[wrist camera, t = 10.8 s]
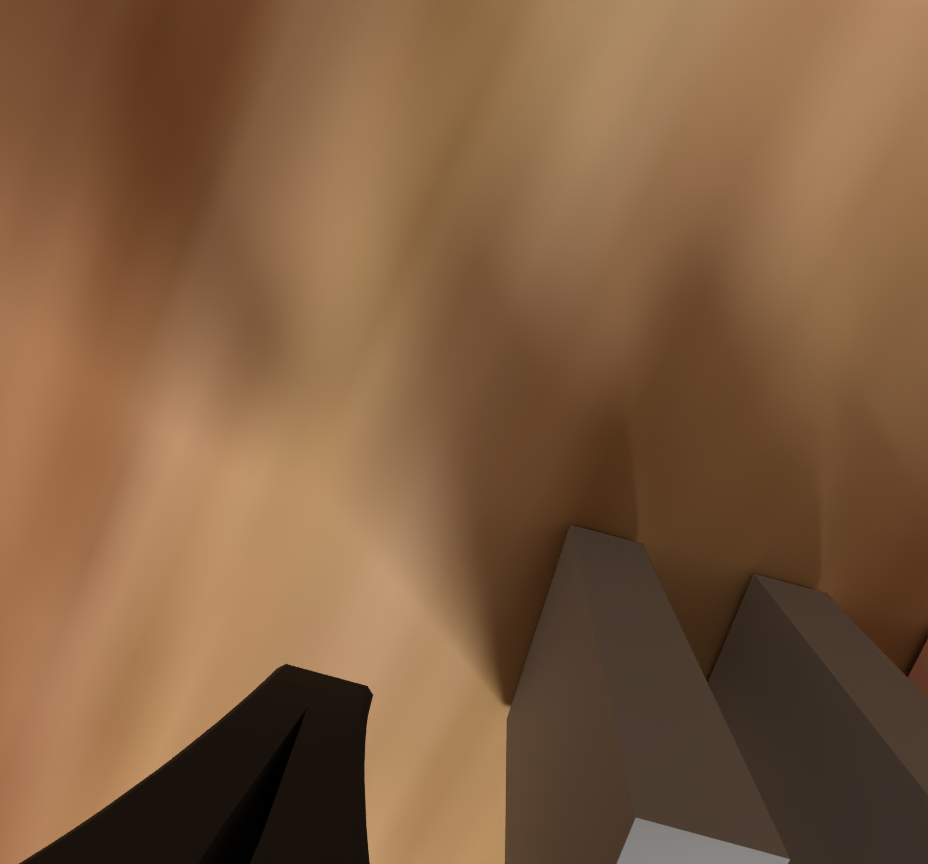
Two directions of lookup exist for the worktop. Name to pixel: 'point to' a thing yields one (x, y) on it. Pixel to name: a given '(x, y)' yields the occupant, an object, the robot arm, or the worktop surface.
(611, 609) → the charcoal tile
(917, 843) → the charcoal tile
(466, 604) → the worktop surface
